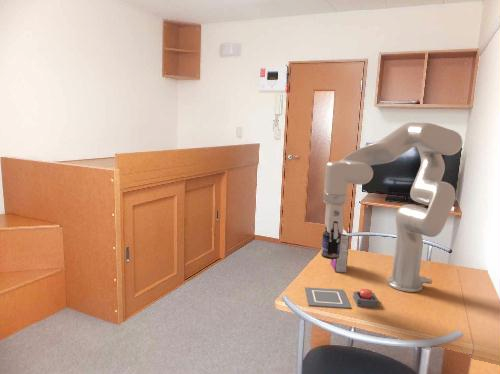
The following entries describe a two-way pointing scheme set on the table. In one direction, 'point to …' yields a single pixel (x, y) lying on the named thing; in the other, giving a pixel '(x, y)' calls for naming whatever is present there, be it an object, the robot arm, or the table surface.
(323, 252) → the pill bottle
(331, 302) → the gray square pad
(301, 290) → the table surface
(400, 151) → the robot arm
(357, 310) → the table surface
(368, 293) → the button
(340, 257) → the candy bar box
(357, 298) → the button housing
